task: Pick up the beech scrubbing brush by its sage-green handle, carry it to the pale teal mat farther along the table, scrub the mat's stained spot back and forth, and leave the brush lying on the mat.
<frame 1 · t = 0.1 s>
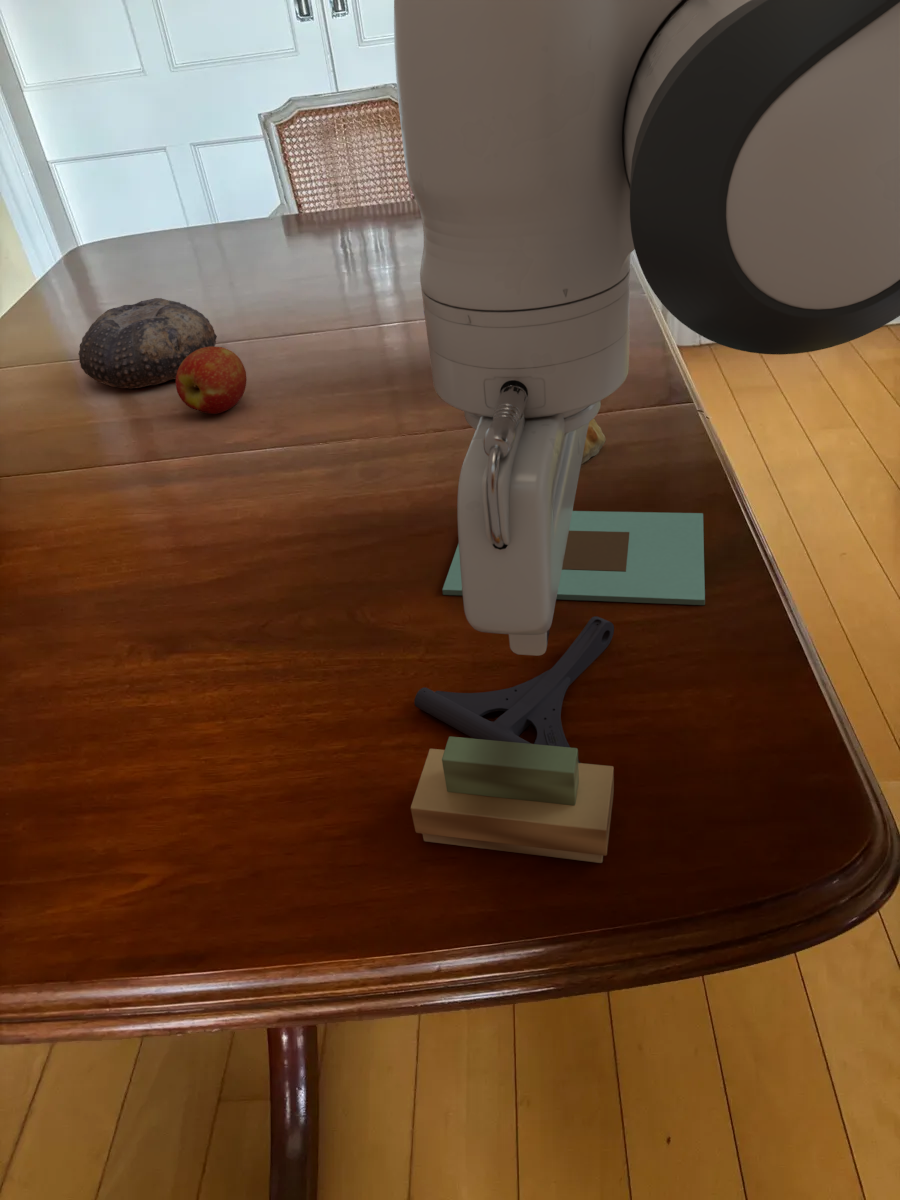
hand: (542, 588, 48), 18 cm above the table, tool pointing down, fingers open, 8 cm apart
vase: (510, 375, 113), on the table
apple: (221, 410, 114), on the table
bracket: (553, 695, 67), on the table
sea urchin shell: (155, 369, 128), on the table
mat: (576, 555, 81), on the table
pastry: (564, 458, 95), on the table
brush: (516, 824, 58), on the table
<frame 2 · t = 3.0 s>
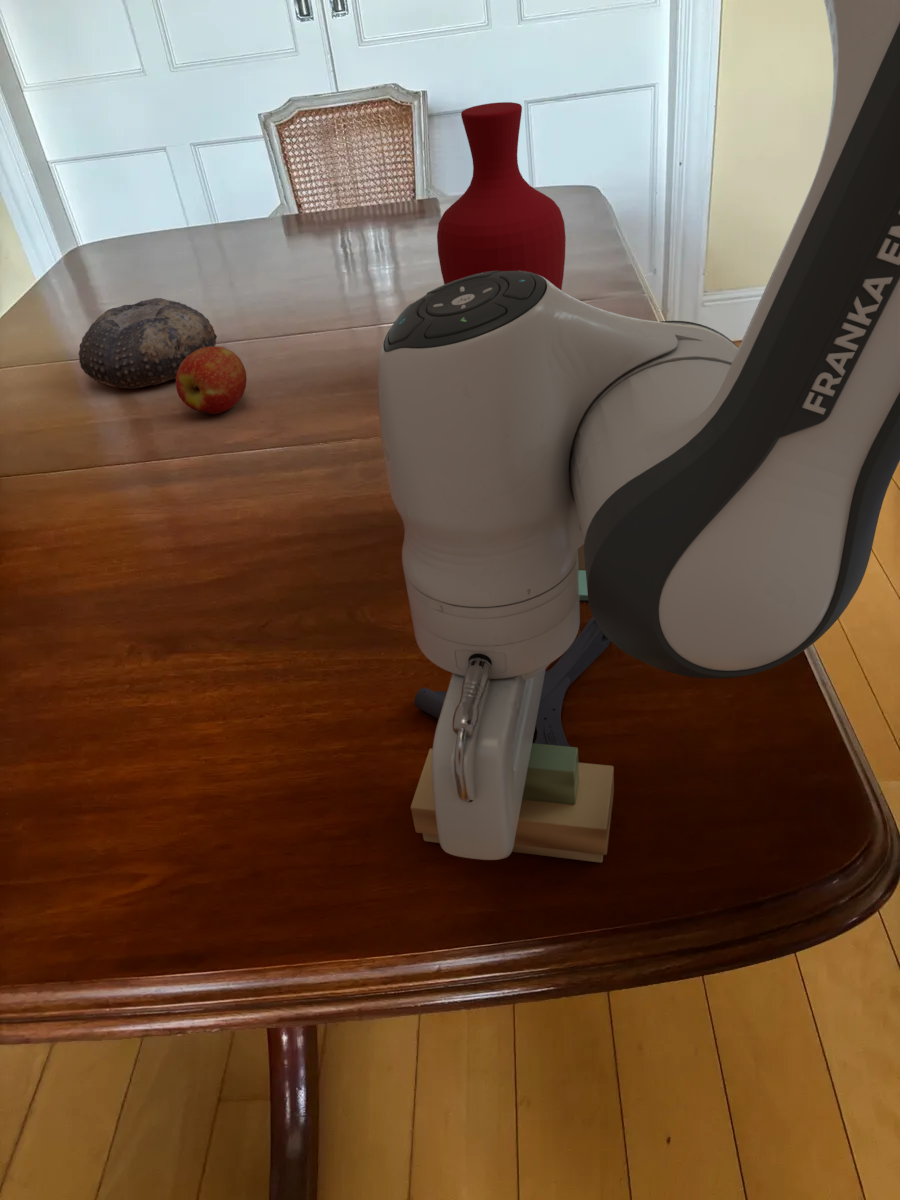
hand: (512, 776, 55), 5 cm above the table, tool pointing down, fingers closed on brush
brush: (516, 824, 58), on the table, touching gripper
everything else where it was.
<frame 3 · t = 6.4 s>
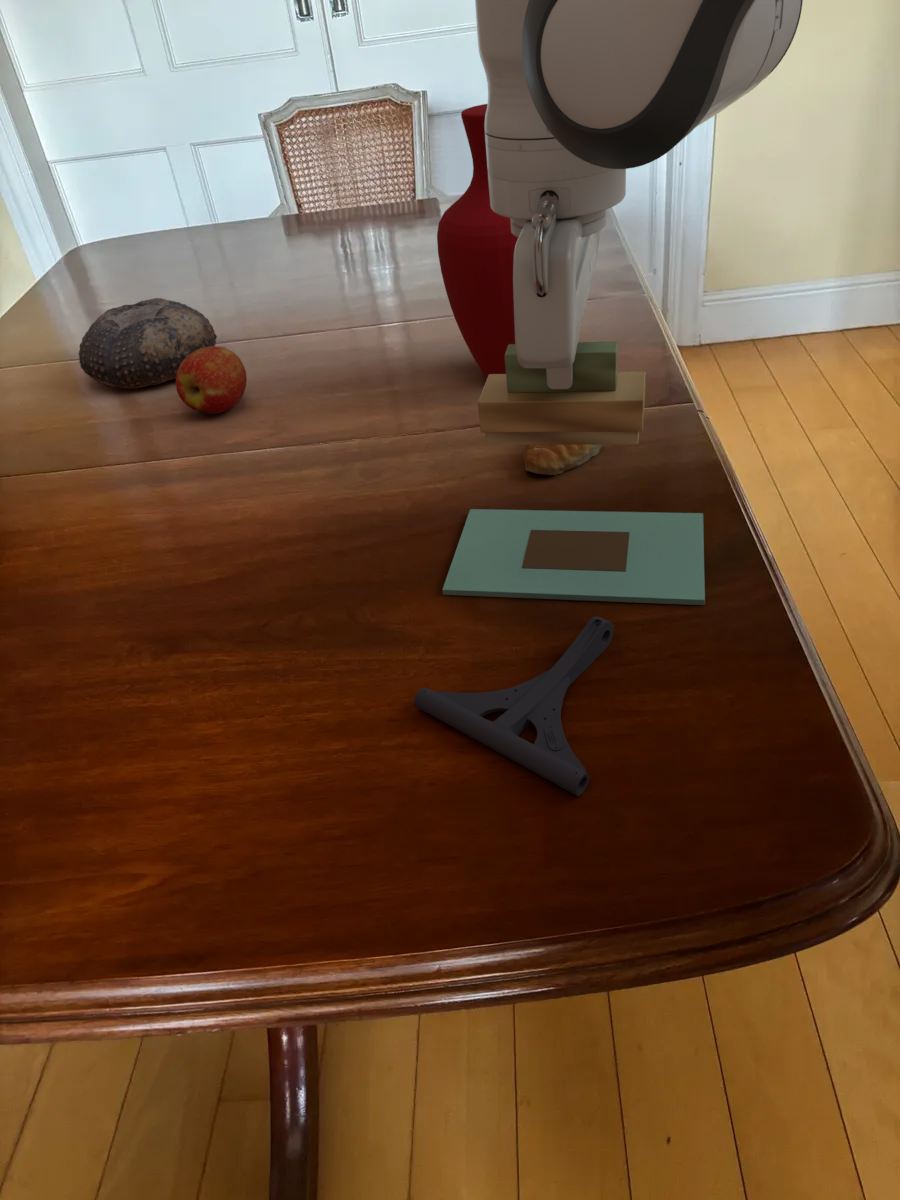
hand: (563, 375, 66), 19 cm above the table, tool pointing down, fingers closed on brush
brush: (563, 431, 69), point 14 cm above the table, touching gripper
everything else where it was.
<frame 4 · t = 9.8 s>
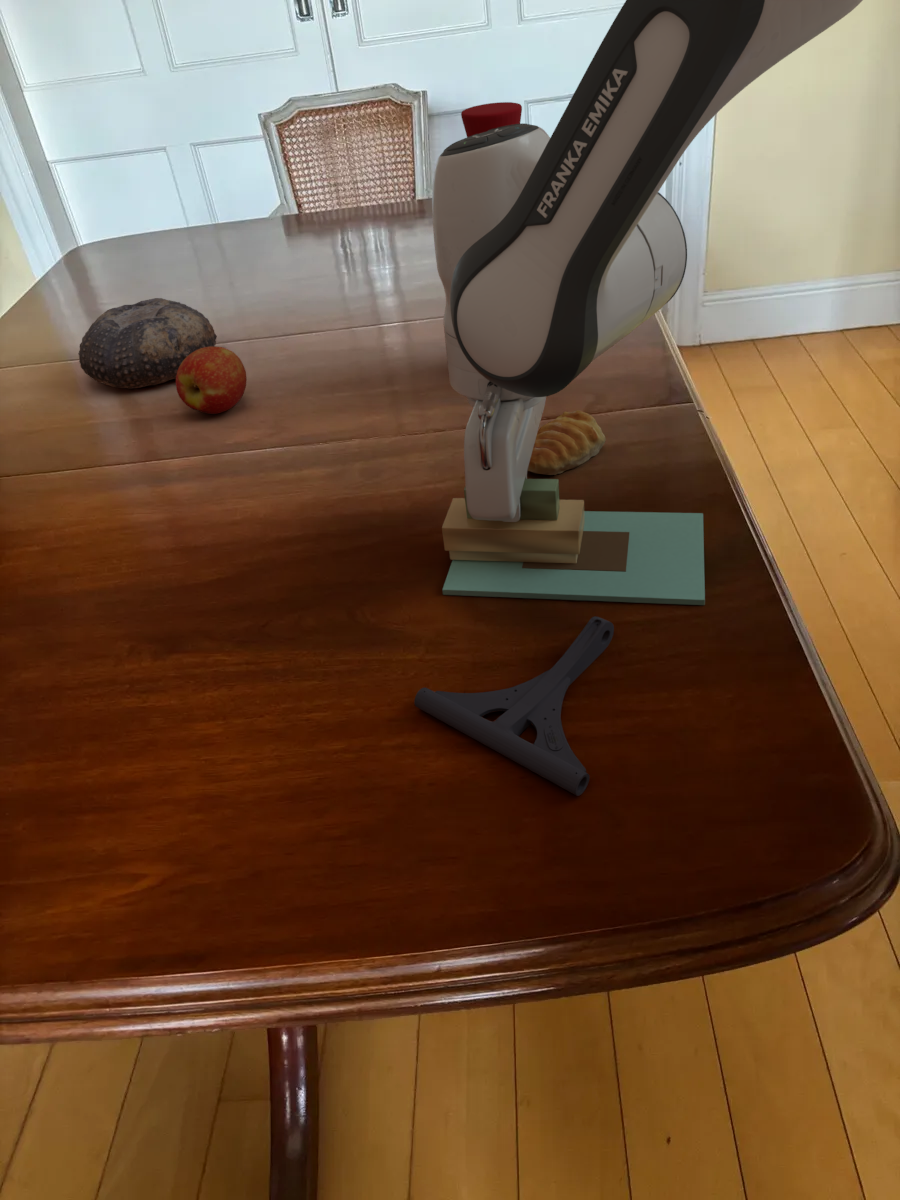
hand: (513, 506, 79), 5 cm above the table, tool pointing down, fingers closed on brush
brush: (515, 547, 81), point 1 cm above the table, touching gripper
everything else where it was.
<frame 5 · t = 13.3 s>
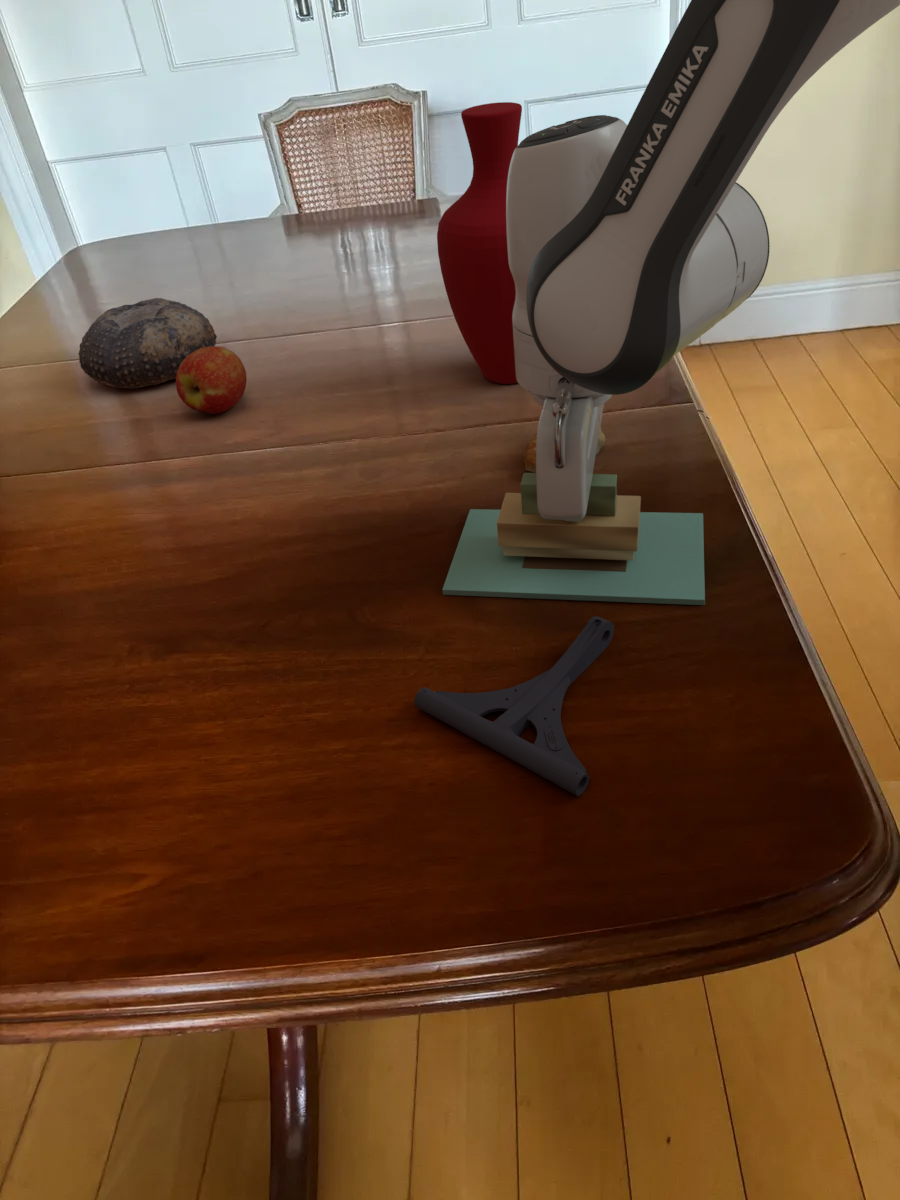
hand: (575, 506, 77), 5 cm above the table, tool pointing down, fingers closed on brush
brush: (569, 544, 80), point 1 cm above the table, touching gripper
everything else where it was.
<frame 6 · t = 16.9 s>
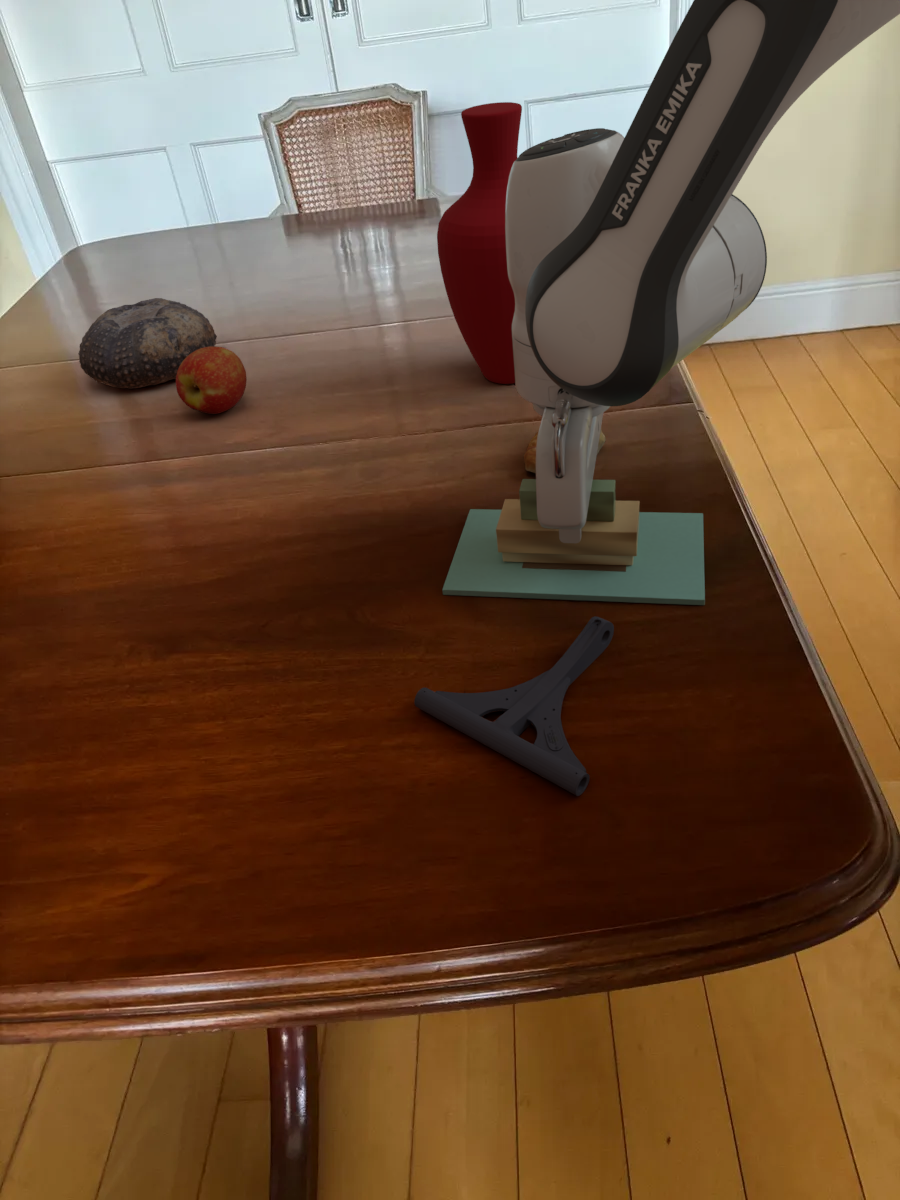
hand: (575, 514, 78), 4 cm above the table, tool pointing down, fingers open, 6 cm apart
brush: (569, 549, 80), point 1 cm above the table, touching mat
everything else where it was.
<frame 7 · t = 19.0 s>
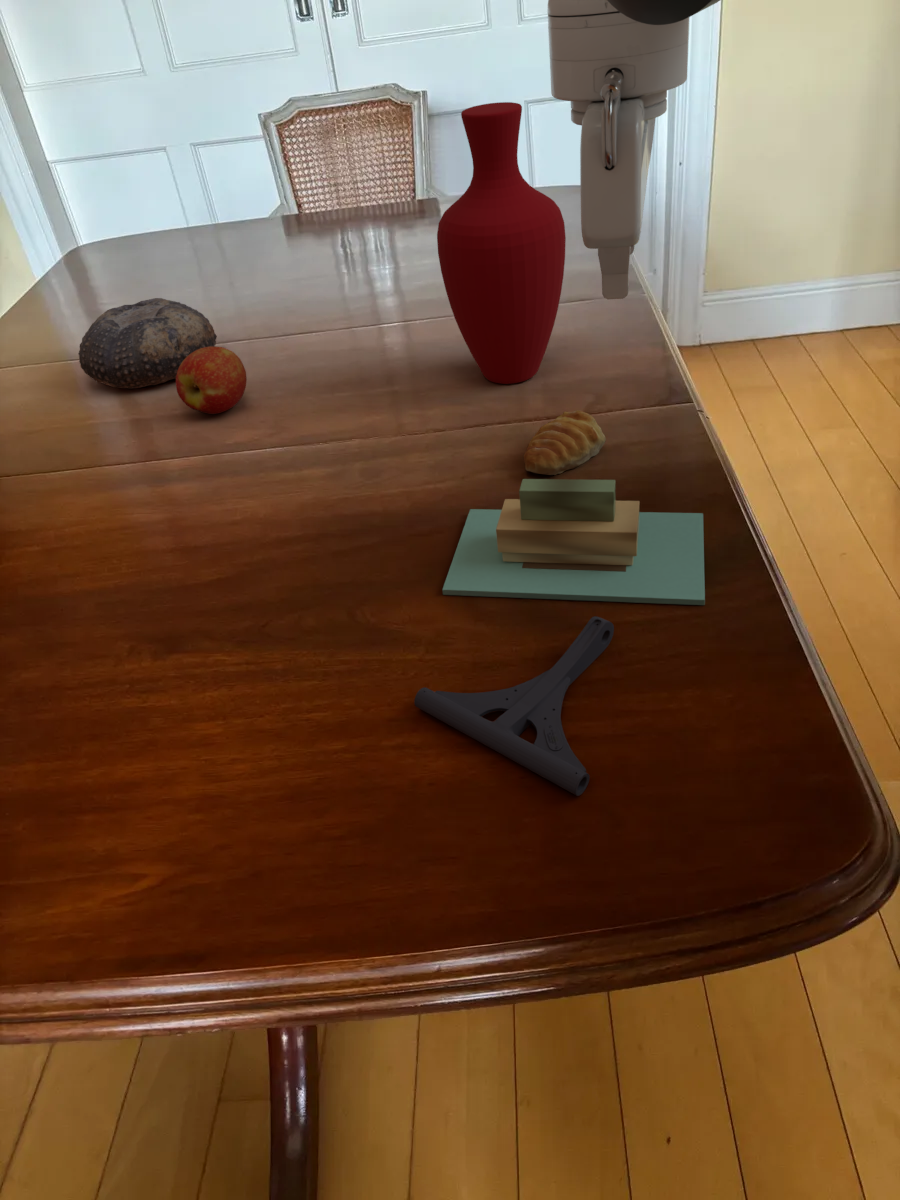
hand: (619, 273, 67), 24 cm above the table, tool pointing down, fingers open, 8 cm apart
nothing on the table moved.
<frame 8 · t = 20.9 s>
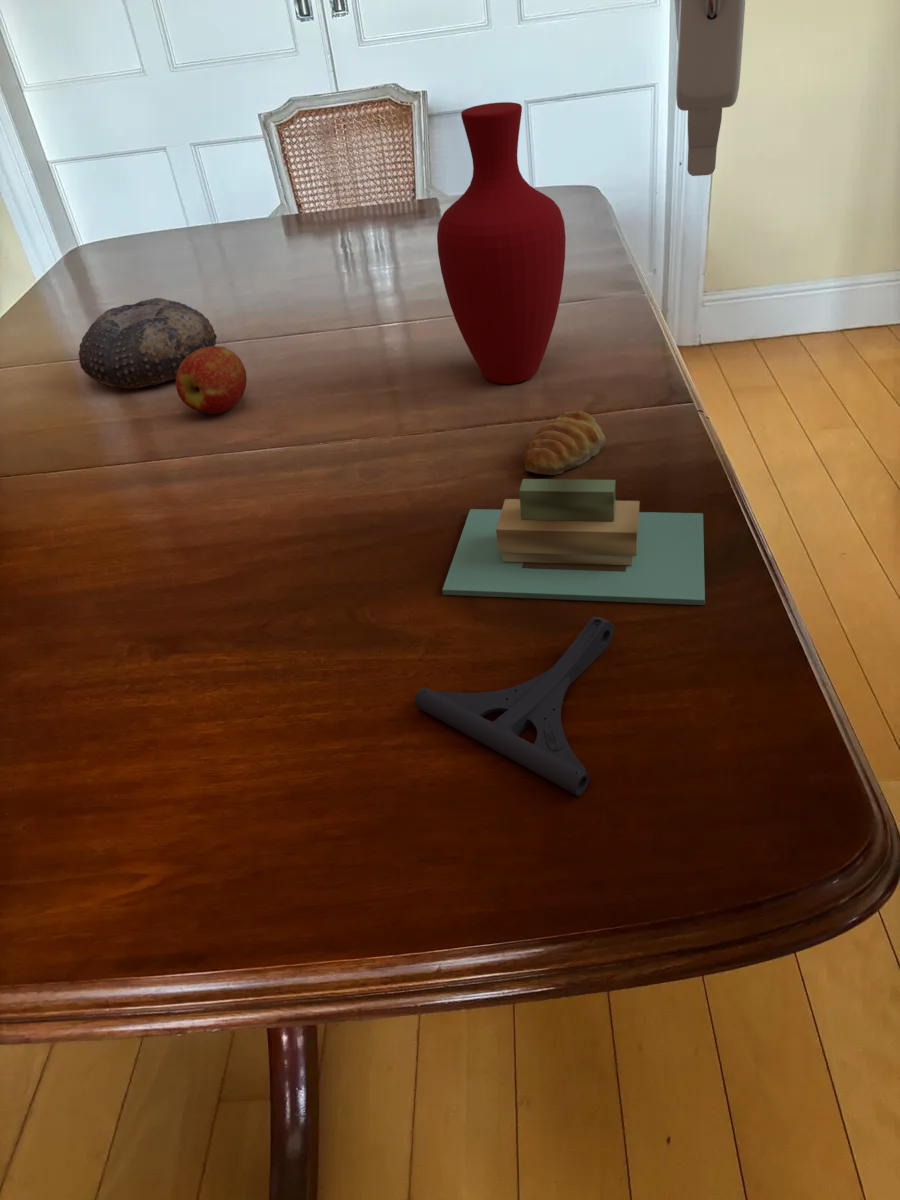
hand: (700, 156, 64), 31 cm above the table, tool pointing down, fingers open, 8 cm apart
nothing on the table moved.
at the end: brush inside the target area on the mat (0.6 cm from its centre), point 0.7 cm above the mat's base; the gripper is holding nothing; brush tilted 0° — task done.
